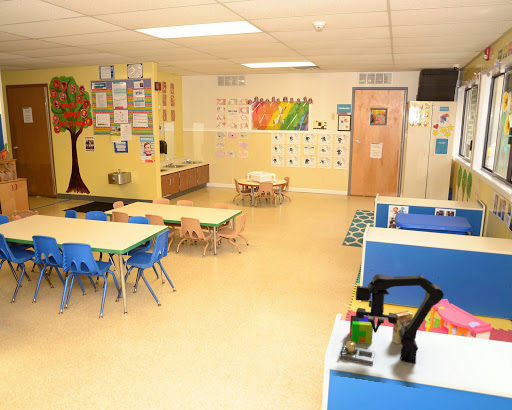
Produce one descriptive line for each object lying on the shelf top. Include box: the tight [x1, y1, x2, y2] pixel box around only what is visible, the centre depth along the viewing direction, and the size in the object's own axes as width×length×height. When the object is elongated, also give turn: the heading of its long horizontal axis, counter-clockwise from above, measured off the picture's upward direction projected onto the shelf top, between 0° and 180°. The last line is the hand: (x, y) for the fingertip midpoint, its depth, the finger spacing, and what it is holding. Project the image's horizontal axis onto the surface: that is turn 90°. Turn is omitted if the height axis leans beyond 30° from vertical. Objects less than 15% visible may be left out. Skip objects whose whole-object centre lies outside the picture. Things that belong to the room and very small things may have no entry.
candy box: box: [391, 310, 414, 345], centre depth 219 cm, size 9×4×15 cm, turn 112°
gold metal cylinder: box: [345, 340, 357, 356], centre depth 206 cm, size 4×4×6 cm
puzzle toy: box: [349, 315, 374, 344], centre depth 222 cm, size 10×10×10 cm
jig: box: [339, 340, 376, 366], centre depth 205 cm, size 15×10×4 cm, turn 69°
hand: (375, 332), depth 204 cm, fingers closed
